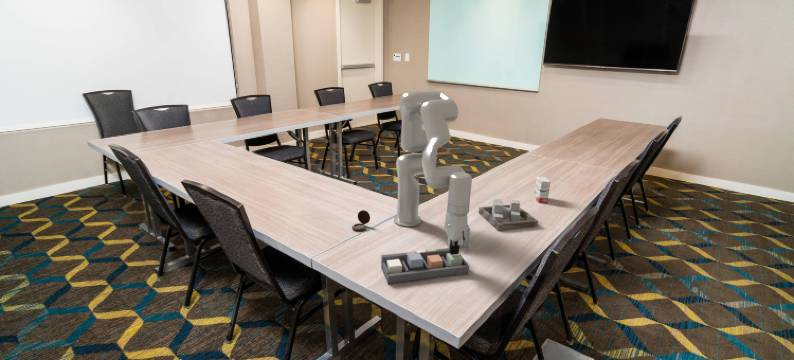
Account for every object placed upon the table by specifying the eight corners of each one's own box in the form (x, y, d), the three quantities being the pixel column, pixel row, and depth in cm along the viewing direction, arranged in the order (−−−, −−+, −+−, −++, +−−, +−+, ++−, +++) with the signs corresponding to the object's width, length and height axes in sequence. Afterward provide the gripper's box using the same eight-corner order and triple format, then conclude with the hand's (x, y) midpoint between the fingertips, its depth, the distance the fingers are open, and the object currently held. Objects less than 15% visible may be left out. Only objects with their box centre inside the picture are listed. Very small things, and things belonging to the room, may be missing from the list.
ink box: (547, 203, 208) (551, 181, 204) (538, 203, 208) (541, 181, 204) (542, 197, 216) (545, 176, 212) (533, 196, 216) (536, 176, 212)
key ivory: (386, 268, 143) (386, 260, 142) (398, 266, 144) (398, 259, 143) (389, 274, 139) (389, 266, 138) (401, 273, 140) (402, 265, 139)
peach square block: (426, 263, 146) (427, 255, 145) (438, 262, 147) (438, 254, 146) (430, 269, 142) (431, 262, 141) (442, 268, 143) (442, 260, 142)
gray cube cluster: (493, 224, 182) (495, 208, 180) (491, 213, 194) (493, 198, 191) (520, 226, 181) (523, 210, 178) (516, 215, 192) (518, 200, 190)
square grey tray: (478, 213, 194) (479, 207, 193) (515, 209, 198) (515, 204, 197) (497, 231, 176) (498, 224, 175) (537, 227, 181) (538, 220, 180)
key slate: (407, 261, 144) (407, 253, 143) (418, 260, 145) (419, 252, 144) (410, 268, 140) (410, 260, 139) (422, 266, 141) (422, 258, 140)
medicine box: (466, 242, 165) (468, 223, 162) (468, 247, 161) (470, 228, 158) (447, 242, 165) (448, 223, 162) (448, 247, 161) (450, 228, 158)
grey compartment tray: (381, 267, 146) (381, 254, 144) (456, 258, 153) (457, 246, 151) (387, 284, 136) (388, 270, 134) (468, 274, 143) (469, 261, 141)
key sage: (446, 261, 148) (446, 253, 147) (457, 260, 149) (457, 252, 148) (450, 267, 144) (451, 259, 143) (461, 266, 145) (462, 258, 144)
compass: (349, 230, 174) (348, 214, 171) (359, 223, 180) (359, 208, 178) (364, 234, 170) (364, 218, 168) (374, 227, 177) (374, 212, 175)
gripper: (440, 199, 145) (437, 244, 152) (456, 217, 132) (451, 265, 138) (459, 198, 147) (455, 242, 153) (477, 215, 133) (472, 263, 140)
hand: (453, 253), depth 146 cm, fingers closed
